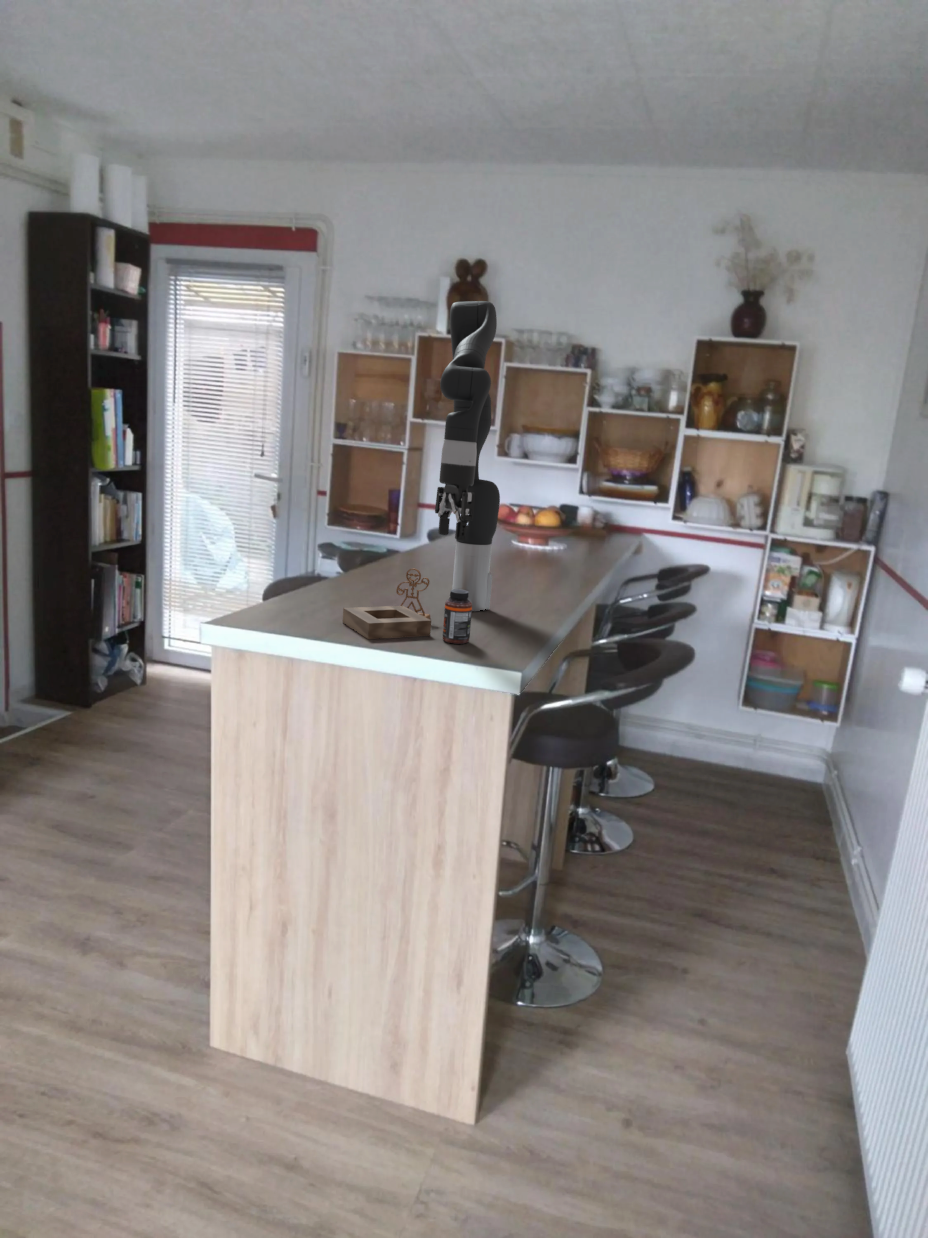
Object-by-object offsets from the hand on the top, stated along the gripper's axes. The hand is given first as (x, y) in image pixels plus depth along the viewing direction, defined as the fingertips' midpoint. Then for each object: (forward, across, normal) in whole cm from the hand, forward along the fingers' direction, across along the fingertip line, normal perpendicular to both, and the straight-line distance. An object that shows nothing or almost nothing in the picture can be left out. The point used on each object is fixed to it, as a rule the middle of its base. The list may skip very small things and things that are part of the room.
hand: (451, 537), depth 189 cm
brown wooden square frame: (+22, +7, +11) cm, 26 cm away
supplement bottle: (+22, -5, -1) cm, 23 cm away
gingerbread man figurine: (+22, +18, 0) cm, 28 cm away
